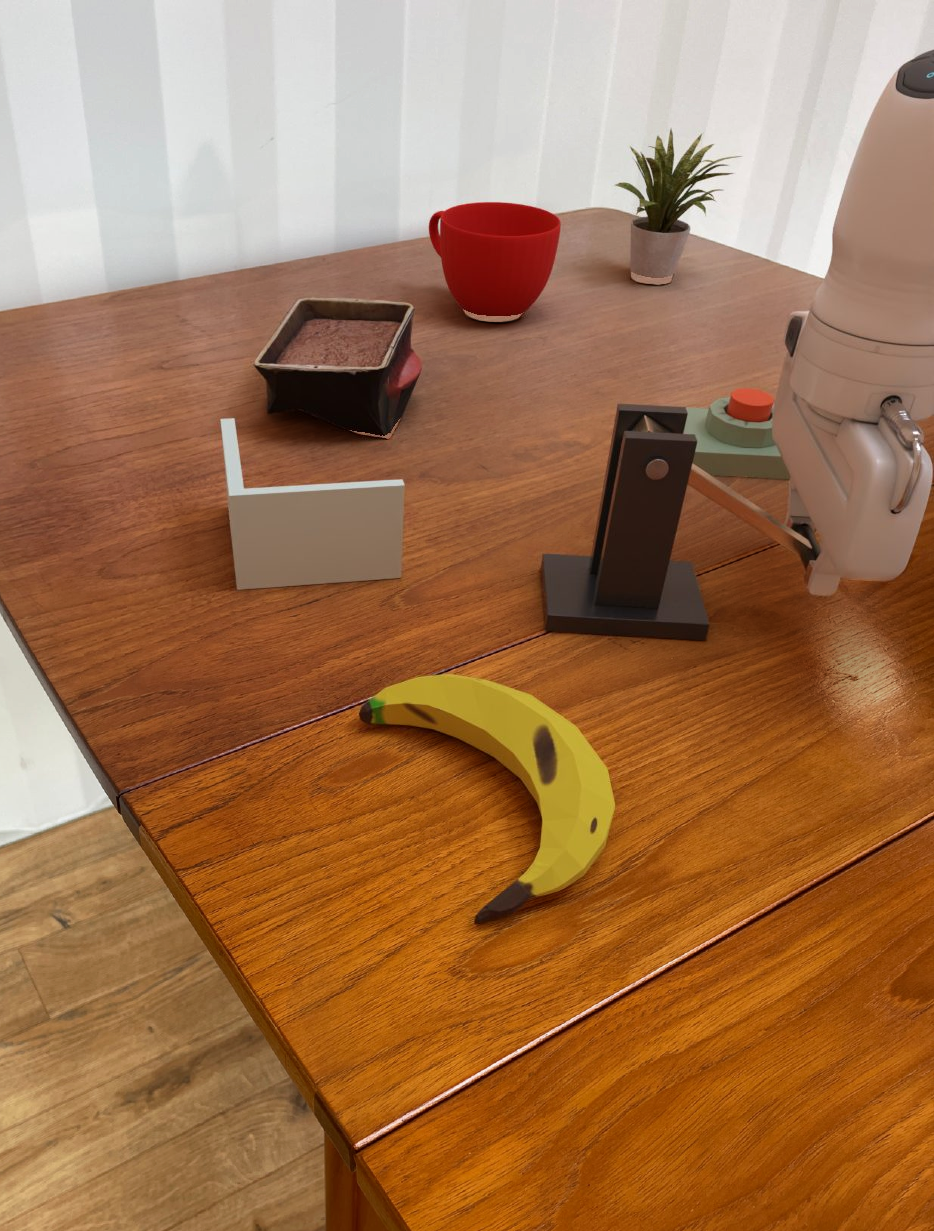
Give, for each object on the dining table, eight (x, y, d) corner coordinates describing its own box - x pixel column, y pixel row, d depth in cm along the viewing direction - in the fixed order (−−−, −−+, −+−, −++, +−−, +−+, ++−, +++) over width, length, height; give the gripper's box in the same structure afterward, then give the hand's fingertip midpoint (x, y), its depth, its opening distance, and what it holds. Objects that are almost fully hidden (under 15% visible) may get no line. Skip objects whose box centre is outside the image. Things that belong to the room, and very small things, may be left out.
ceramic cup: (466, 277, 128) (472, 187, 121) (573, 316, 119) (586, 221, 112) (388, 300, 121) (390, 207, 115) (495, 343, 112) (504, 244, 105)
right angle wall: (401, 577, 77) (404, 485, 72) (236, 589, 75) (229, 495, 70) (375, 498, 86) (376, 411, 81) (228, 507, 84) (220, 418, 79)
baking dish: (239, 448, 96) (233, 349, 89) (301, 348, 107) (301, 253, 100) (390, 481, 95) (397, 383, 87) (437, 376, 106) (447, 281, 98)
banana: (407, 626, 65) (254, 788, 57) (669, 722, 57) (533, 925, 49) (415, 679, 68) (271, 839, 60) (663, 777, 60) (535, 975, 52)
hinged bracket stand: (688, 577, 78) (732, 399, 69) (705, 641, 72) (757, 455, 63) (540, 569, 78) (565, 391, 69) (545, 631, 72) (573, 445, 63)
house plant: (683, 310, 121) (716, 153, 110) (574, 286, 126) (596, 133, 116) (725, 278, 130) (759, 130, 119) (622, 256, 136) (646, 113, 125)
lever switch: (796, 551, 74) (822, 526, 73) (813, 590, 70) (841, 565, 69) (618, 434, 69) (642, 405, 68) (626, 469, 66) (651, 439, 64)
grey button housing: (788, 435, 97) (800, 393, 94) (811, 481, 90) (825, 438, 87) (668, 429, 97) (677, 387, 95) (682, 474, 90) (692, 431, 88)
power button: (764, 408, 92) (769, 389, 91) (772, 426, 90) (778, 406, 89) (722, 406, 93) (727, 387, 91) (730, 423, 90) (735, 404, 89)
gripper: (989, 447, 55) (898, 657, 64) (877, 310, 70) (817, 495, 80) (867, 440, 55) (794, 651, 64) (782, 305, 71) (733, 490, 80)
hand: (806, 563), depth 72 cm, fingers closed on lever switch, 5 cm apart
